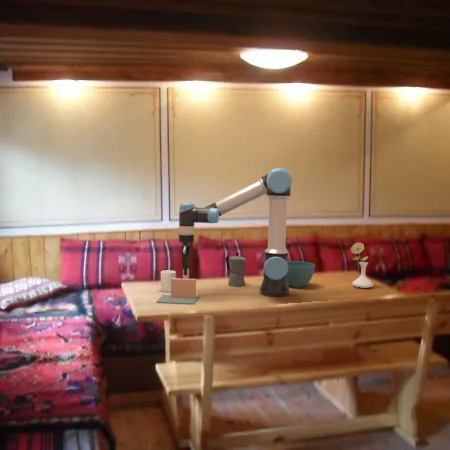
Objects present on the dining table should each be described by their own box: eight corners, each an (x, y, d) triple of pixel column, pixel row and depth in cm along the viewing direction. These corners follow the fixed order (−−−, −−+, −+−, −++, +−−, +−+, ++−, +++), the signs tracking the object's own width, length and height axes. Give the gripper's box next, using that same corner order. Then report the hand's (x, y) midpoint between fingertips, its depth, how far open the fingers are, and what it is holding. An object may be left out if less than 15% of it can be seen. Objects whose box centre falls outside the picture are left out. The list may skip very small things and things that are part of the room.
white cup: (161, 292, 306) (161, 273, 305) (159, 289, 314) (159, 270, 313) (176, 292, 308) (176, 272, 307) (174, 288, 316) (174, 270, 315)
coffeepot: (251, 286, 327) (252, 253, 325) (239, 288, 320) (239, 255, 319) (231, 281, 338) (232, 250, 336) (219, 283, 332) (220, 251, 330)
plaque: (195, 297, 294) (196, 279, 293) (195, 298, 292) (195, 280, 291) (171, 296, 296) (171, 278, 295) (170, 297, 293) (171, 279, 293)
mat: (198, 297, 297) (198, 296, 297) (193, 304, 282) (193, 303, 282) (162, 295, 299) (162, 294, 299) (156, 302, 284) (156, 301, 284)
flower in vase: (371, 285, 336) (373, 241, 333) (374, 289, 325) (376, 244, 322) (347, 284, 337) (349, 240, 335) (350, 288, 326) (352, 243, 323)
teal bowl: (320, 288, 325) (321, 266, 323) (290, 290, 318) (291, 267, 317) (303, 282, 341) (304, 260, 340) (275, 283, 335) (275, 262, 333)
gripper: (181, 232, 304) (180, 278, 306) (176, 235, 291) (175, 283, 293) (196, 233, 303) (195, 279, 305) (191, 236, 290) (190, 284, 292)
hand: (185, 281), depth 299 cm, fingers closed
